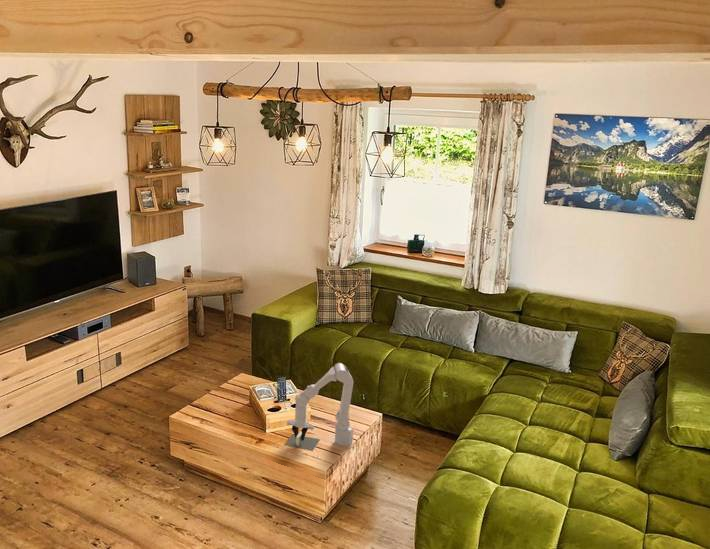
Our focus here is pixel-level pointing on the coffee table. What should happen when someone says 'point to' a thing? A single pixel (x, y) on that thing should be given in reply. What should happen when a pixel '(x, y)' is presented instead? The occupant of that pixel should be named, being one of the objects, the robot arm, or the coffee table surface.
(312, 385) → the robot arm
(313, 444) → the mat
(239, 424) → the coffee table surface
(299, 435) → the tile
